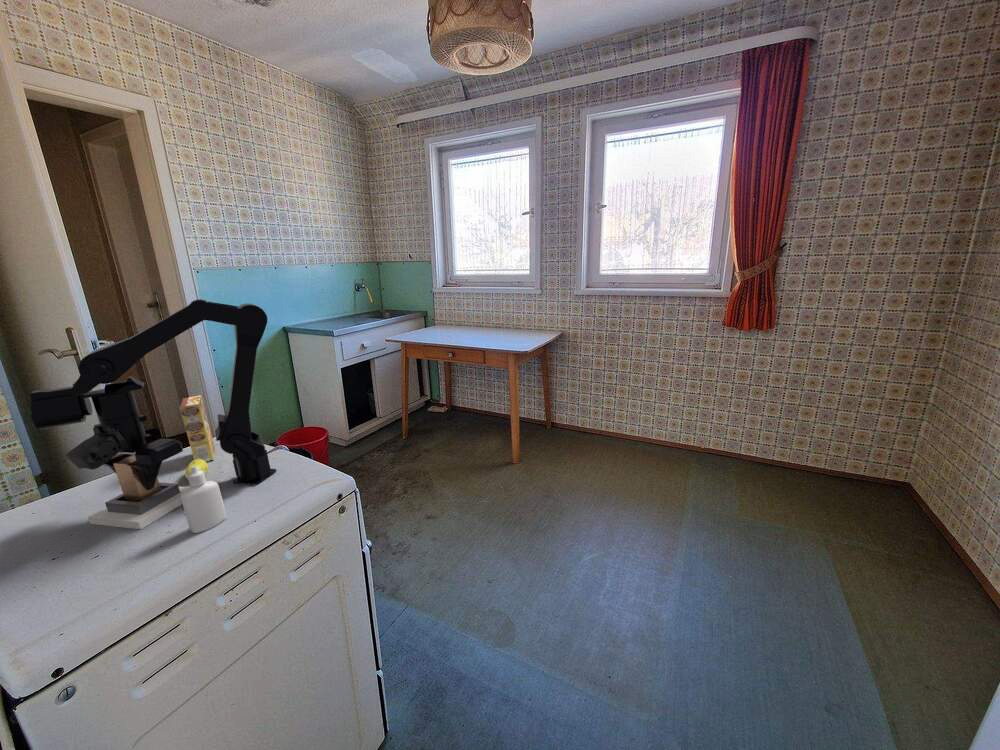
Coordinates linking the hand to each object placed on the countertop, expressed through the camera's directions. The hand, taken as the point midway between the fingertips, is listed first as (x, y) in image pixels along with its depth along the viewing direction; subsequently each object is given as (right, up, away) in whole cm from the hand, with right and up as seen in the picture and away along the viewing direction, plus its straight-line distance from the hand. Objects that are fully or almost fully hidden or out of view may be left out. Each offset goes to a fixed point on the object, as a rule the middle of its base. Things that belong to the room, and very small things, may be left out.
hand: (141, 488), depth 82 cm
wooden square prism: (0, -2, +1) cm, 2 cm away
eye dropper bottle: (+17, -6, -5) cm, 19 cm away
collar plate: (0, -4, +1) cm, 4 cm away
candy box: (-4, +1, +24) cm, 24 cm away
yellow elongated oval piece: (+1, -1, +14) cm, 14 cm away
